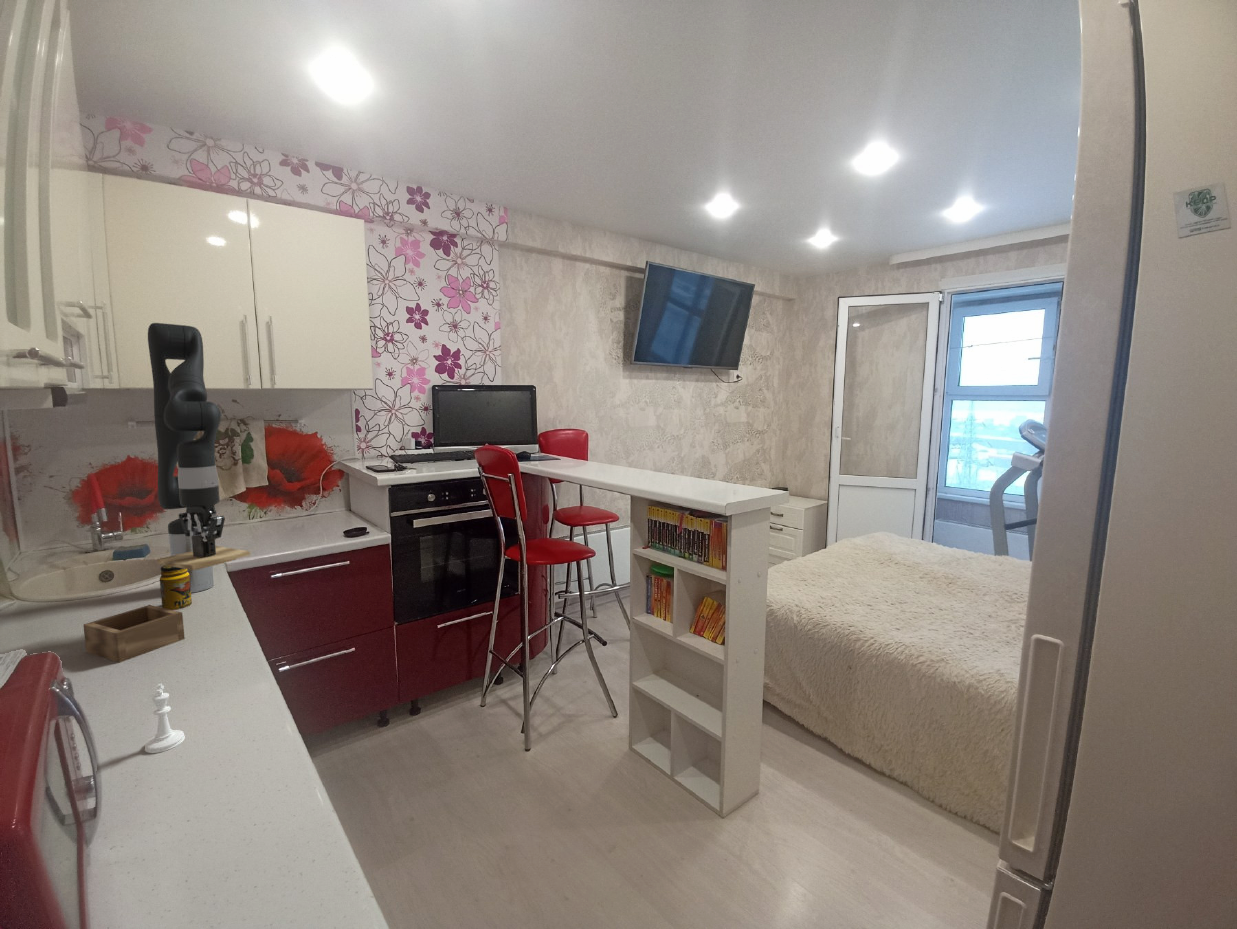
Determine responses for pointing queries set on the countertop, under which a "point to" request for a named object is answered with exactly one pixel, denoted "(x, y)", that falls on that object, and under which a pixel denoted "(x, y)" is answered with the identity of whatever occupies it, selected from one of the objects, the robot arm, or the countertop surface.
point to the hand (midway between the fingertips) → (204, 554)
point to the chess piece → (163, 726)
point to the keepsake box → (133, 633)
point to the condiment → (175, 588)
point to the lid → (202, 556)
